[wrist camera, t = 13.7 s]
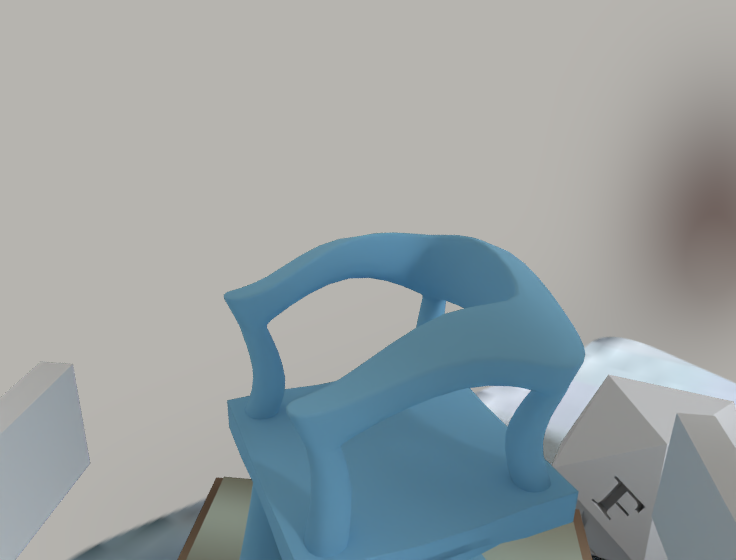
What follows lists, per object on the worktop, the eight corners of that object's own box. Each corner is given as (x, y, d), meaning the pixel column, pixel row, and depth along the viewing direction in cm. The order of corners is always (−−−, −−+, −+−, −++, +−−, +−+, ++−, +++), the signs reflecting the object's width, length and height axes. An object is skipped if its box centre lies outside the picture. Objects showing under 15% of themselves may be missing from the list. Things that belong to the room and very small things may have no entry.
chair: (204, 590, 21) (167, 222, 16) (440, 518, 24) (465, 192, 19) (273, 863, 14) (243, 382, 10) (584, 716, 17) (676, 296, 13)
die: (517, 491, 35) (508, 431, 27) (640, 393, 36) (666, 307, 28) (637, 636, 31) (668, 614, 23) (773, 518, 32) (848, 458, 24)
